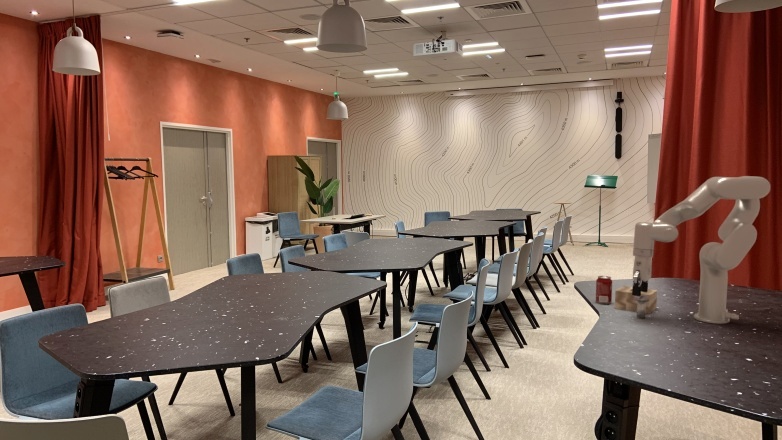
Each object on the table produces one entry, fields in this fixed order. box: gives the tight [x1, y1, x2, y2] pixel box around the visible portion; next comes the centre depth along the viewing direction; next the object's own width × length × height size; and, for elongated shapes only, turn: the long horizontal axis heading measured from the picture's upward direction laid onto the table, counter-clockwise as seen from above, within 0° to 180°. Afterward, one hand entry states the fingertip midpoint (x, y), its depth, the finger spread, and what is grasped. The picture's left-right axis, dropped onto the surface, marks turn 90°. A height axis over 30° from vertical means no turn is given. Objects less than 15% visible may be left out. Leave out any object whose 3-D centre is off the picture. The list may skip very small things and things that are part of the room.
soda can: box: [595, 275, 613, 305], centre depth 247 cm, size 7×7×12 cm
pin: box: [634, 295, 649, 320], centre depth 223 cm, size 6×6×9 cm
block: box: [614, 285, 658, 315], centre depth 237 cm, size 14×12×8 cm
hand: (639, 293), depth 222 cm, fingers open, 9 cm apart
